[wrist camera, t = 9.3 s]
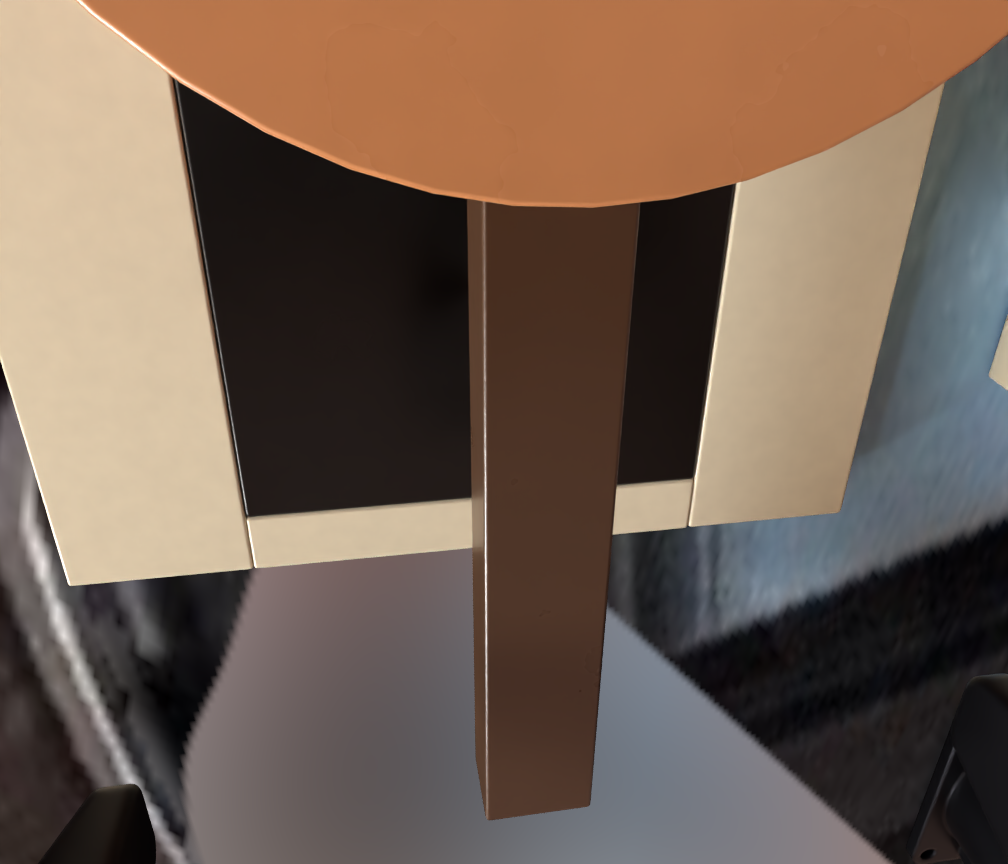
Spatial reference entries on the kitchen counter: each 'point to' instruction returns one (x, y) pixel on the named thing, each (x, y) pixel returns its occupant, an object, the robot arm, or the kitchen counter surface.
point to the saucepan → (554, 241)
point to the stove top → (384, 327)
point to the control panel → (1001, 360)
